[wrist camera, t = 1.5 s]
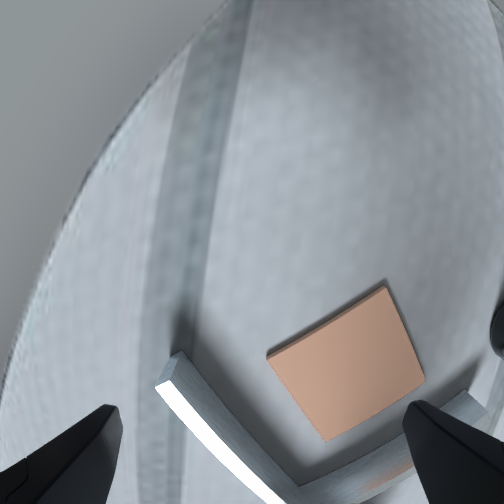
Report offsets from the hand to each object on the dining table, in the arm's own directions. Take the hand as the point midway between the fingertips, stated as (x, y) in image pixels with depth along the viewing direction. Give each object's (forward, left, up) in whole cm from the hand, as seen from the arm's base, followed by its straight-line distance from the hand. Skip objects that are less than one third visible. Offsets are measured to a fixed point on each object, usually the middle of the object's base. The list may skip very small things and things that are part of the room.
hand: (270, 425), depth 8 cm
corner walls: (-10, -2, -14) cm, 18 cm away
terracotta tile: (-9, -3, -14) cm, 17 cm away
